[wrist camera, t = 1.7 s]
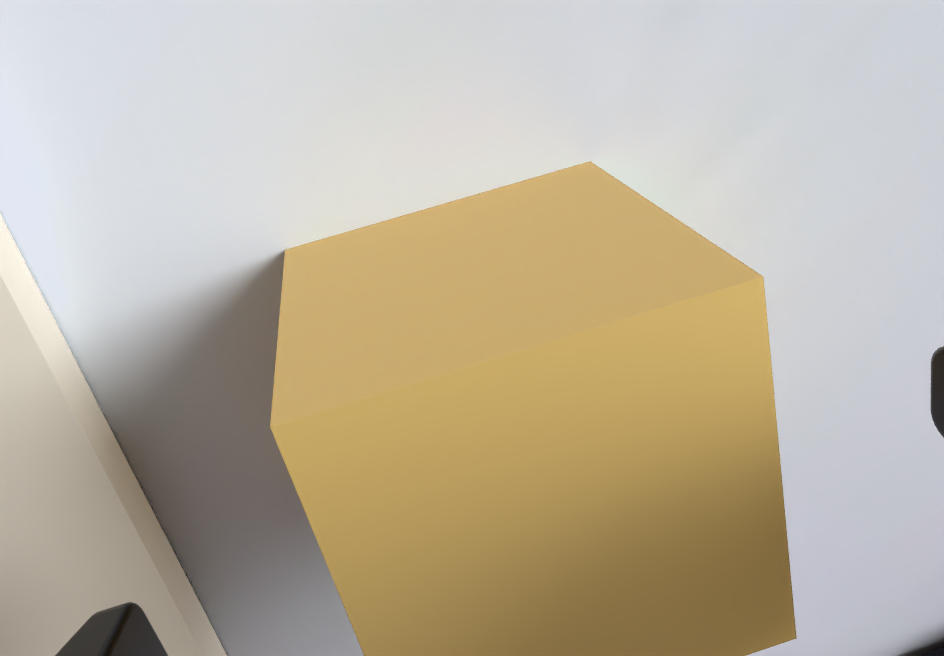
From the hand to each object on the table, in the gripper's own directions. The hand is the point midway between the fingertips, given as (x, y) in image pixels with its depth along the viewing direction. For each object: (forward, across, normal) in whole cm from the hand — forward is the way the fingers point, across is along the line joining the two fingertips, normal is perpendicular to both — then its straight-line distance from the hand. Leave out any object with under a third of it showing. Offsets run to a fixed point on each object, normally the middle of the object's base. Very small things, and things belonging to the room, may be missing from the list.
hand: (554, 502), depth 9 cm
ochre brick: (+4, 0, 0) cm, 4 cm away
